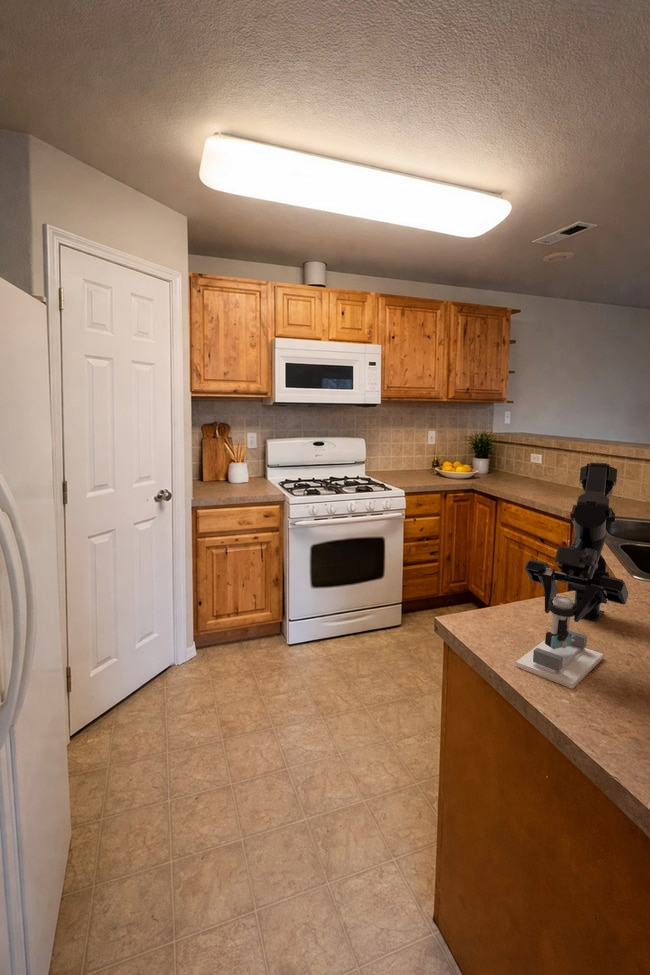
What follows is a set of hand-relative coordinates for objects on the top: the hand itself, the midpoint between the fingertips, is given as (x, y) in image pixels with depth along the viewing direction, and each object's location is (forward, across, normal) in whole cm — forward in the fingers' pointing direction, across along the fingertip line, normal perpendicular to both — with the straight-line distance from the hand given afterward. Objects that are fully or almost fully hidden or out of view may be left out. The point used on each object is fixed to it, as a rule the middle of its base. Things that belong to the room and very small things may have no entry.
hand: (560, 616), depth 96 cm
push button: (+4, 0, +6) cm, 7 cm away
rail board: (+7, 0, +8) cm, 10 cm away
